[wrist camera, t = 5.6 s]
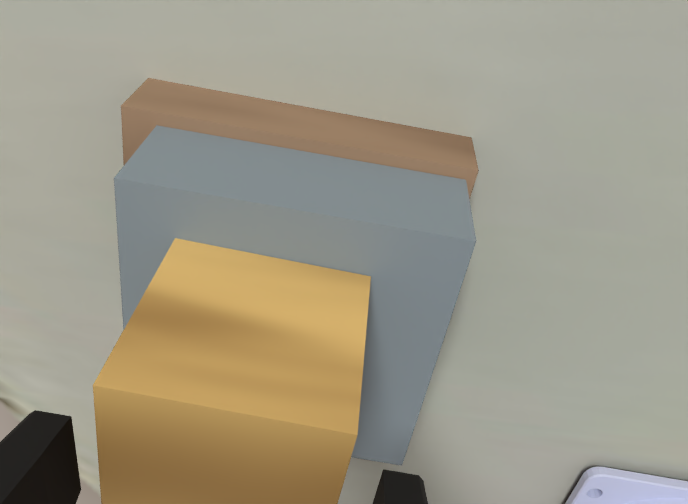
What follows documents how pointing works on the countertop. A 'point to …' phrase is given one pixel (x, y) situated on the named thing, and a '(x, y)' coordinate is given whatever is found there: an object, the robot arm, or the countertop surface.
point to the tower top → (313, 246)
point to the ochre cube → (233, 383)
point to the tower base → (293, 129)
